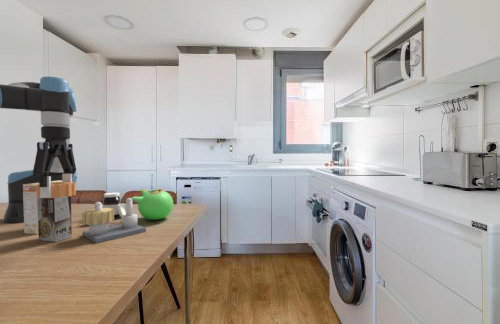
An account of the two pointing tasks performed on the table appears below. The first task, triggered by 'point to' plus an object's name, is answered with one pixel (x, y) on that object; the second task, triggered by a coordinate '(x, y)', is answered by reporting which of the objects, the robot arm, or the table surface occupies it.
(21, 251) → the table surface
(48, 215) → the coffee box
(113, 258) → the table surface
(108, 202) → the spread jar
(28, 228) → the coffeecake box
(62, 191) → the orange gear
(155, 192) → the green teapot
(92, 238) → the gear board
